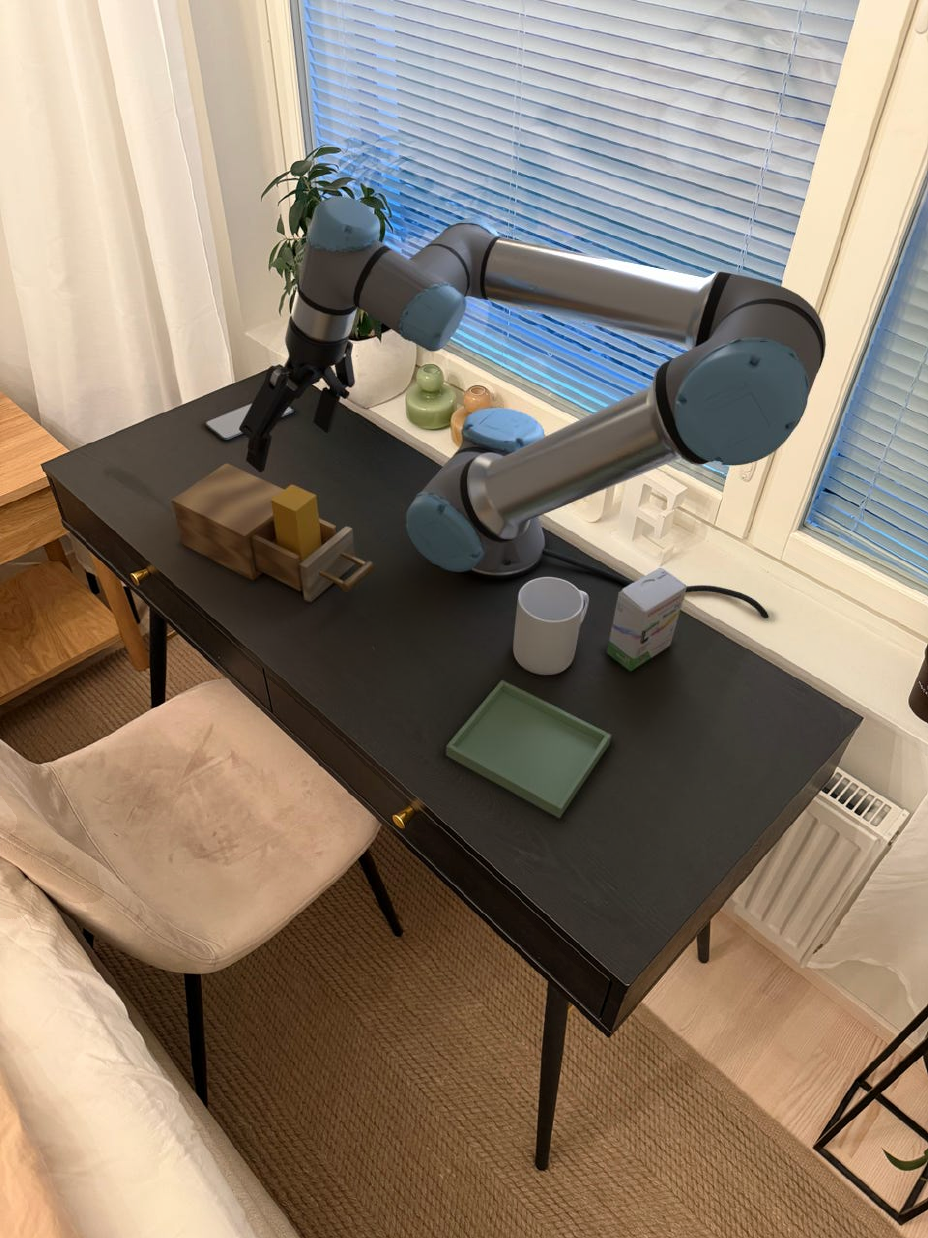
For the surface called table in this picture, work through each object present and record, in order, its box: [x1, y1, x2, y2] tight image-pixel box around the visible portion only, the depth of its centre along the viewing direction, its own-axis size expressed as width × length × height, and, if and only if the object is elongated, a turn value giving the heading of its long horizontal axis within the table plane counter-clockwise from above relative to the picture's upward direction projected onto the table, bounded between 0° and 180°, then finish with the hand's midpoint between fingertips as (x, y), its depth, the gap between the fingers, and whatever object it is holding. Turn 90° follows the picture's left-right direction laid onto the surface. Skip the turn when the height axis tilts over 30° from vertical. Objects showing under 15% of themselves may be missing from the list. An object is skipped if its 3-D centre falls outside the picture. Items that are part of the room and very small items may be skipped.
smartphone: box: [205, 402, 295, 441], centre depth 164 cm, size 7×1×15 cm
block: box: [271, 484, 322, 564], centre depth 129 cm, size 4×4×12 cm
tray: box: [445, 679, 612, 819], centre depth 112 cm, size 16×13×2 cm
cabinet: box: [171, 462, 285, 581], centre depth 136 cm, size 15×12×9 cm
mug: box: [512, 576, 590, 676], centre depth 121 cm, size 9×12×11 cm
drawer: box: [249, 517, 375, 603], centre depth 131 cm, size 19×10×7 cm, turn 57°
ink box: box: [606, 567, 688, 672], centre depth 121 cm, size 8×5×12 cm, turn 129°
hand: (289, 445), depth 126 cm, fingers open, 13 cm apart
